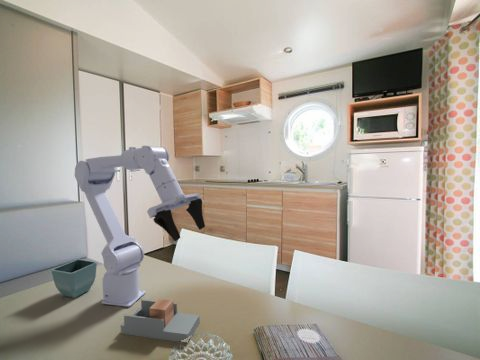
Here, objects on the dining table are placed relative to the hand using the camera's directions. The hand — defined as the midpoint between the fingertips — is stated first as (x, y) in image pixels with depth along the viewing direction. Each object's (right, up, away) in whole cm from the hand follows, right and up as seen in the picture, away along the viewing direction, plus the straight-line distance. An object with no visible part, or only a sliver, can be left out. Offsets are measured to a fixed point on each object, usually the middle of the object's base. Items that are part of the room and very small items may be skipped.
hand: (190, 233), depth 59 cm
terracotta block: (-7, -21, -1) cm, 22 cm away
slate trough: (-6, -23, -1) cm, 24 cm away
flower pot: (-39, -23, +17) cm, 48 cm away
